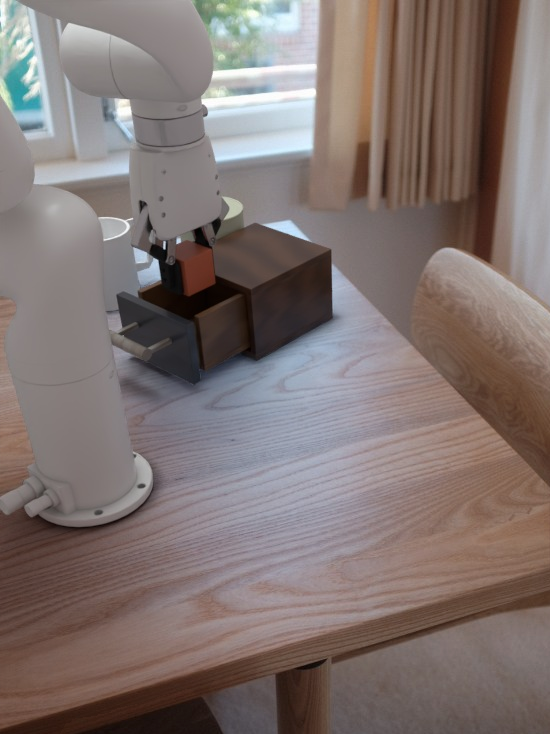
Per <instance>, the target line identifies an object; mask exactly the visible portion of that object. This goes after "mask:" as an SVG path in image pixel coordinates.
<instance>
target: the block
mask: <svg viewBox="0 0 550 734" xmlns="http://www.w3.org/2000/svg"><path fill="white" fill-rule="evenodd" d="M176 261H177V262H179V263H180V266H181V273H182V281H183V288H184V293H183V294H184V295H187V296H191V295H193V294H195V293H197V292H199V291H201V290H203V289H205V288H207V287H209V286H212V285H214V284H215V274H214V265H213V256H212V249H210V248H207V247H204V246H202V245H199V244H197V243H194V242H191V241H189V240H185V241H183V242H181V241H180V242H179V243H176Z"/></svg>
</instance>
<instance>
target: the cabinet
mask: <svg viewBox="0 0 550 734" xmlns="http://www.w3.org/2000/svg"><path fill="white" fill-rule="evenodd" d="M212 249H213V258H214V268H215V281H216V282H218V283H221V284H223V285H225V286H228V287H230V288H233V289H235V290H238V291H240V292H243V293H245V294H246V297H247V309H248V320H249V332H250V344H251V347H249V348H247V349H246V350H244V351H242V352H240V353H239V354H241V355H242V356H245V357H247V358H249V359H251V360H254V361H256V362H257V361H259V360H261V359H263V358H264V357H266V356H268V355H269V354H271V353H273V352H275V351H277V350H278V349H280V348H282V347H284V346H285V345H287V344H289V343H291V342H292V341H294V340H296V339H298V338H299V337H302V336H303V335H306V334H307V333H308V332H310V331H312V330H314V329H315V328H318V327H319V326H321V325H322V324H324V323H326V322H328V321H330V320H331V319H333V317H334V313H333V262H332V261H333V260H332V259H333V257H332V248H330V247H327V246H324V245H321V244H318V243H315V242H313V241H310V240H307V239H304V238H301V237H298V236H296V235H292V234H290V233H286V232H283V231H281V230H278V229H275V228H272V227H270V226H266V225H263V224H260V223H258V222H253V223H251V224H249V225H246V226H244V228H242V229H239V230H237V231H235V232H233V233H230V234H228V235H226V236H223V237H221V238H219V239H217V240H216V244H215V245H214V246H213V247H212Z"/></svg>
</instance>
